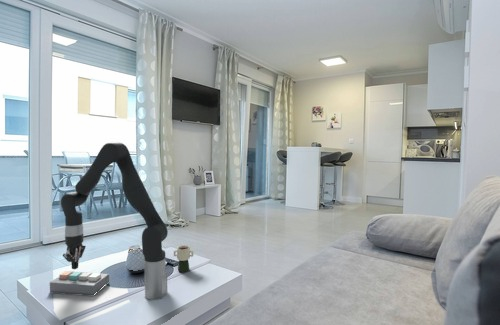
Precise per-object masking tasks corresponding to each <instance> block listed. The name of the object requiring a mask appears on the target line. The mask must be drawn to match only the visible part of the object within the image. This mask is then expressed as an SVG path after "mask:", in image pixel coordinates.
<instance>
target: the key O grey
mask: <svg viewBox="0 0 500 325" xmlns="http://www.w3.org/2000/svg"><path fill="white" fill-rule="evenodd" d="M91 273H92V272H87V273H83V274H81V275H80V276H79V280H82V281H87V280H88V277H89V276H90V275H91Z"/></svg>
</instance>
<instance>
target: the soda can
mask: <svg viewBox="0 0 500 325" xmlns="http://www.w3.org/2000/svg"><path fill="white" fill-rule="evenodd" d="M128 249H129V250H128V252H127V254H128V253H129V251H130V250H133V249H141V250H142V248H141V246H140V245H132V246H129V248H128Z"/></svg>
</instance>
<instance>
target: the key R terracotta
mask: <svg viewBox="0 0 500 325" xmlns="http://www.w3.org/2000/svg"><path fill="white" fill-rule="evenodd" d="M72 272H73V271H71V272H68V271H63V272H62V273H60V274H59V276H58V277H59V278H60V279H66V280H67V279H68V278H69V275H70V274H72Z"/></svg>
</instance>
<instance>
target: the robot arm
mask: <svg viewBox="0 0 500 325" xmlns="http://www.w3.org/2000/svg"><path fill="white" fill-rule="evenodd" d="M100 148H101V149H99V152H98V154H97V155H96V157H95V159H94V160H93V162H92V164H91V165H90V166H89V168H88V170H87V171H85V174H84V175H82V177H81V178H80V179H79V181H78V182H77V183H76V184H75V186H74V188H75V191H73V192H68V193H65V194H64V195H62V197H61V199H60V206H61V208H62V212H63V215H64V219H65V222H64V223H65V226H64V244H65V245H66V246H67V247H66V252H65V253H63V254H62V257H63V258H64V260H66V262H68V263H71V269H72V270H77V269H78V268H79V261H80V259H81V258H82V257H83V255H84V252H85V249H86V245H83V242H84V224H83V213H82V212H81V211H79V210H77V208H76V207H79V206H82V205H83V204H84V203H85V202H86V201H87V200H88V198H89V195H90V193H91V192H92V191H93V189H94V188H96V186H97V185H98V184H99V182H100V180H101V178H102V175H103V173H104V171H105V170H107V168H108V167H109V166H110V165H111V164H113V163H115V164H116V165H117V167H118V169H119V171H120V173H121V184H122V186H121V188H122V192H123V193H124V196H125V198H126V200H127V202H128V203H129V205H130V206H131V207H132V208H133V210H135V211H136V212H137V213H138V214H140V216H141V217H142V218H143V220H144V222H145V225H146V227H145V228H144V229H143V231H142V234H141V247H142V248H141V252H142V255H143V256H144V297H145V299H148V300H159V299H163V298H164V297H165V295H167V293H168V272H167V270H166V269H167V268H166V252H165V250H163V247H162V246H163V245H162V244H163V241H165V239H167V237H168V234H169V233H168V231H169V230H168V227H167V226H166V224H165V222H164V220H163V218H162V216H160V215H159V213H158V211H157V208H156V207H155V204H154V202H153V201H152V199H151V197H150V195H149V193H148V191H147V189H146V187H145V185H144V183H143V181H142V179H141V177H140V175H139V173H138V171H137V169H136V166H135V164H134V162H133V159H132V156H131V154H130V151H129V149H128V147H127V146H126V145H125V144H124V143H123V142H118V141H117V142H113V141H112V142H107V143H105V144H104V145H102V147H100Z"/></svg>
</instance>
